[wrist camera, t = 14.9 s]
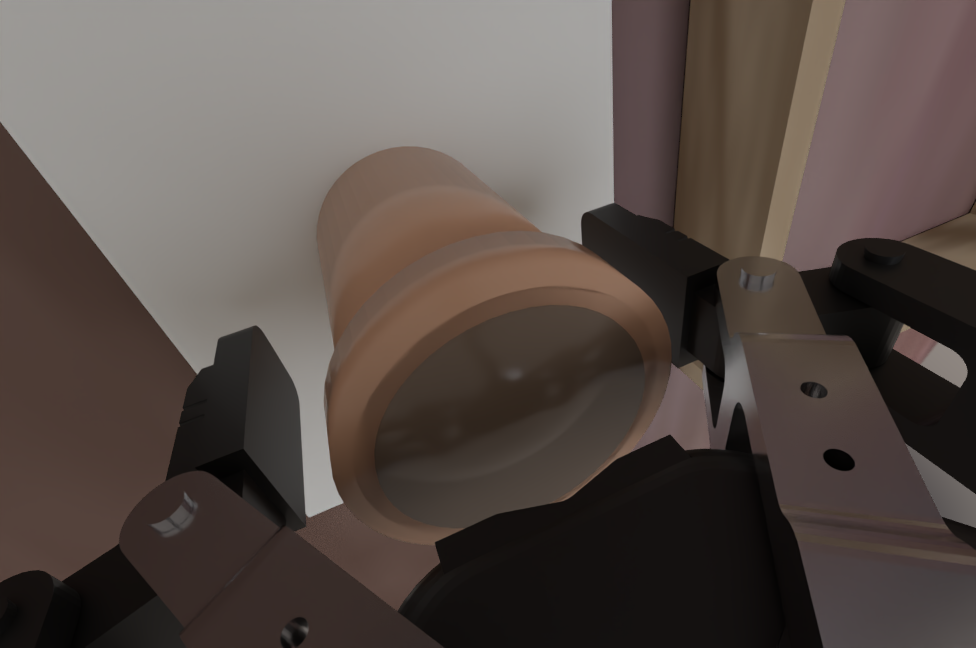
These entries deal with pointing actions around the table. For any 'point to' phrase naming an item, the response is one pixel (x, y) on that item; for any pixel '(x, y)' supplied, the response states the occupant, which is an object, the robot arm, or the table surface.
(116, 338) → the table surface
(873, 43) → the table surface
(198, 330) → the grey mat
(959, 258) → the frame
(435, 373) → the terracotta pot
